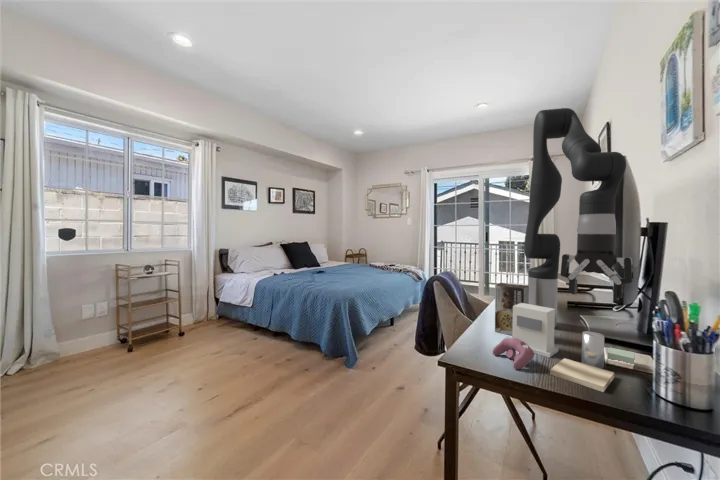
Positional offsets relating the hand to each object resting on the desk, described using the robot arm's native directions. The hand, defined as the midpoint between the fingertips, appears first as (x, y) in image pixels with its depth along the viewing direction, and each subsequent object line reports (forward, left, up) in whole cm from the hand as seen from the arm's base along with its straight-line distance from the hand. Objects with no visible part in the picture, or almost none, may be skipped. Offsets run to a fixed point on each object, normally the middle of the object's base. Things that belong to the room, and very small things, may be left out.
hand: (594, 296), depth 75 cm
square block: (-7, +4, -18) cm, 20 cm away
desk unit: (0, -14, -18) cm, 22 cm away
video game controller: (+13, -14, -18) cm, 26 cm away
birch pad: (+9, 0, -18) cm, 20 cm away
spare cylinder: (0, 0, -18) cm, 18 cm away
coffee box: (-9, -24, -18) cm, 31 cm away
